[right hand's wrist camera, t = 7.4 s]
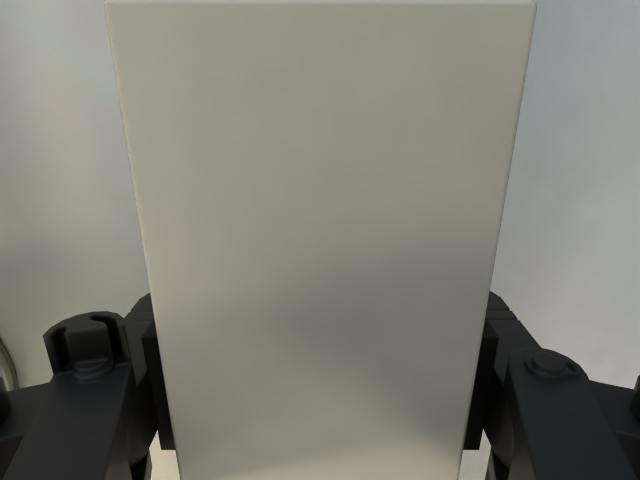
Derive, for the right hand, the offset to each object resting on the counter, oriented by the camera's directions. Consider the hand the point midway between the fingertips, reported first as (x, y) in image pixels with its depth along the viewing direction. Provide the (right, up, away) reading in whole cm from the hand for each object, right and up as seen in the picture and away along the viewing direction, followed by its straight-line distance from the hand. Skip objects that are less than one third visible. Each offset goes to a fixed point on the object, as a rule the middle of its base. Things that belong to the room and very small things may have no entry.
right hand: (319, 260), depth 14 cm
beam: (0, -29, +12) cm, 31 cm away
